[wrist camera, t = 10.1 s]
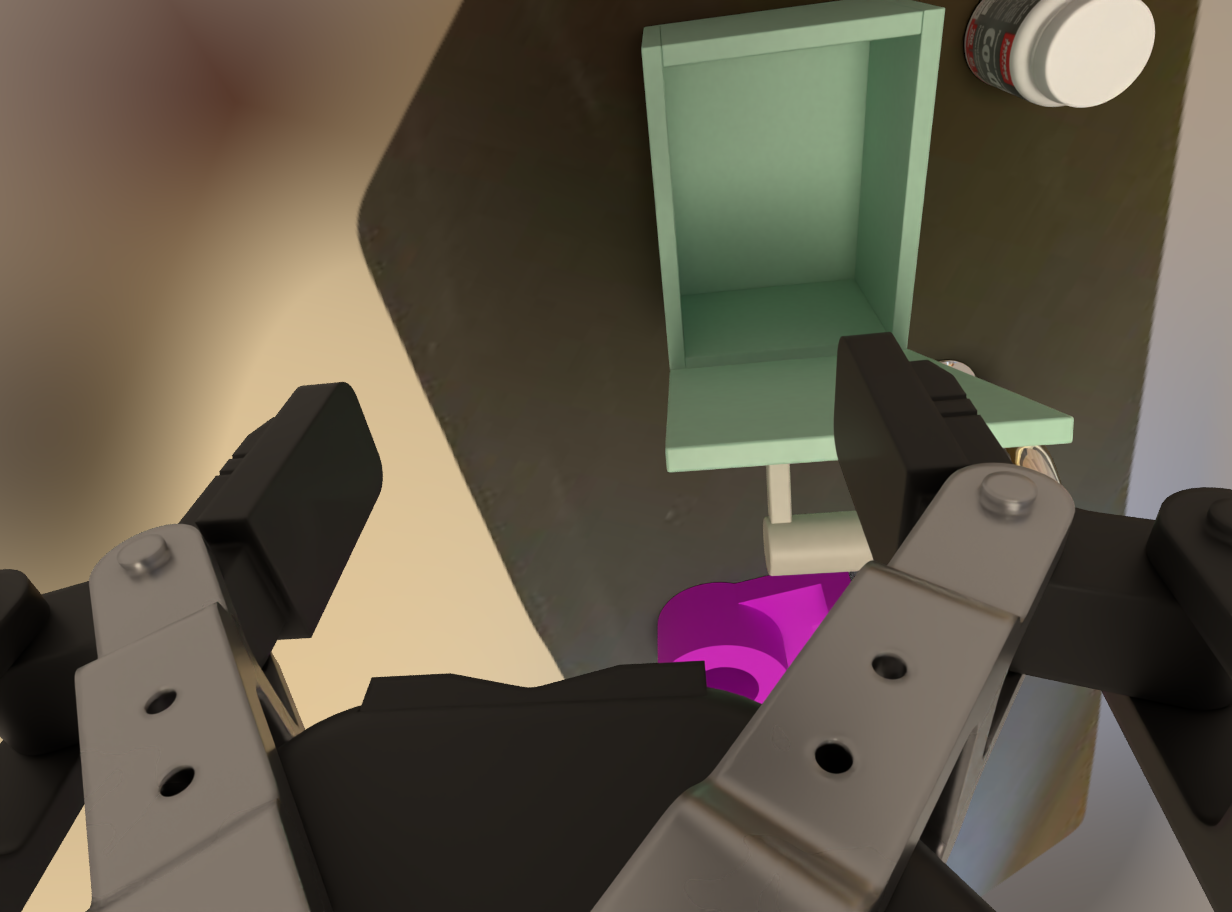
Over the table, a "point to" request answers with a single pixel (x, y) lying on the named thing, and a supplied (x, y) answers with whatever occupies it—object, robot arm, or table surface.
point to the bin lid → (809, 443)
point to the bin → (789, 175)
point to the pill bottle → (1060, 48)
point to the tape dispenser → (747, 627)
